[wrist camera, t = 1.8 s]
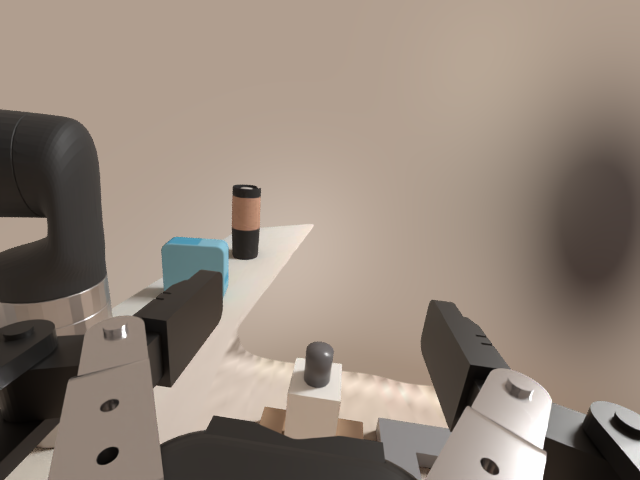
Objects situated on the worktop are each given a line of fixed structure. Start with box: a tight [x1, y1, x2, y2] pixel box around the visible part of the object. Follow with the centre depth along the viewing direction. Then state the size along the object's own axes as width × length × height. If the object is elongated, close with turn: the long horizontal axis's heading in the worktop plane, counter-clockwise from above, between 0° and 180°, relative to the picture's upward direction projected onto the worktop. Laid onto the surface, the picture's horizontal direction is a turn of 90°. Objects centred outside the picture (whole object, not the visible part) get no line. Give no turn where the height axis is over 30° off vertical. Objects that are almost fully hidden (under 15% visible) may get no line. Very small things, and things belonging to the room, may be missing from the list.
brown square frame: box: [259, 407, 363, 439], centre depth 31 cm, size 12×12×2 cm
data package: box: [161, 237, 229, 296], centre depth 63 cm, size 12×4×12 cm, turn 95°
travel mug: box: [232, 185, 261, 260], centre depth 85 cm, size 8×8×20 cm
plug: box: [284, 342, 342, 439], centre depth 29 cm, size 4×4×16 cm
